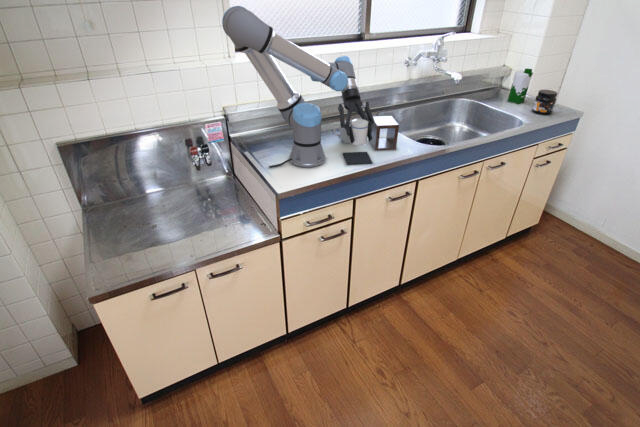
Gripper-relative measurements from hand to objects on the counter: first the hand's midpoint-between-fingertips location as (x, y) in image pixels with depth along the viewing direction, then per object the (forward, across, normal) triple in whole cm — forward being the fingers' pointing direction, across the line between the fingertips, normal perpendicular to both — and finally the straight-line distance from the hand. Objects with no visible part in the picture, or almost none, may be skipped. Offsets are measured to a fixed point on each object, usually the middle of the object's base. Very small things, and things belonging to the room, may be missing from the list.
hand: (361, 141), depth 162 cm
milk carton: (-30, -127, -46) cm, 138 cm away
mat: (+5, 0, -9) cm, 10 cm away
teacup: (-9, -2, -24) cm, 25 cm away
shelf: (-3, -17, -17) cm, 25 cm away
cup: (-1, 0, -4) cm, 4 cm away
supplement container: (-15, -127, -31) cm, 132 cm away
